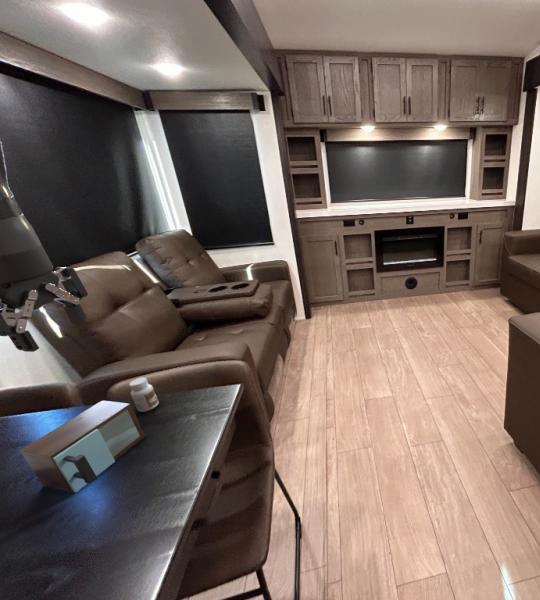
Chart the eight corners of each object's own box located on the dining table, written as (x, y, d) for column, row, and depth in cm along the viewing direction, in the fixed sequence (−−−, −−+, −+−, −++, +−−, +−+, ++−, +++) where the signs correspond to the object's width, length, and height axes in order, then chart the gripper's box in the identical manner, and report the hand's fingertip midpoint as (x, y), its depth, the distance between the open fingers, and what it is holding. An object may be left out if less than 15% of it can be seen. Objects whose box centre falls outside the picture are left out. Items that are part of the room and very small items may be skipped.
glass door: (73, 492, 59) (52, 458, 56) (113, 461, 65) (96, 428, 62) (92, 496, 57) (71, 462, 54) (130, 464, 64) (114, 431, 61)
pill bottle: (156, 409, 80) (145, 383, 77) (135, 414, 79) (123, 388, 76) (161, 399, 84) (151, 374, 81) (141, 404, 82) (130, 379, 80)
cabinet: (43, 486, 61) (19, 450, 57) (118, 431, 73) (102, 400, 70) (73, 493, 59) (50, 456, 56) (145, 436, 71) (130, 403, 68)
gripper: (31, 234, 55) (74, 315, 62) (-83, 263, 42) (-12, 360, 50) (73, 234, 55) (111, 316, 62) (-28, 264, 42) (35, 362, 50)
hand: (57, 335), depth 56 cm, fingers open, 8 cm apart
